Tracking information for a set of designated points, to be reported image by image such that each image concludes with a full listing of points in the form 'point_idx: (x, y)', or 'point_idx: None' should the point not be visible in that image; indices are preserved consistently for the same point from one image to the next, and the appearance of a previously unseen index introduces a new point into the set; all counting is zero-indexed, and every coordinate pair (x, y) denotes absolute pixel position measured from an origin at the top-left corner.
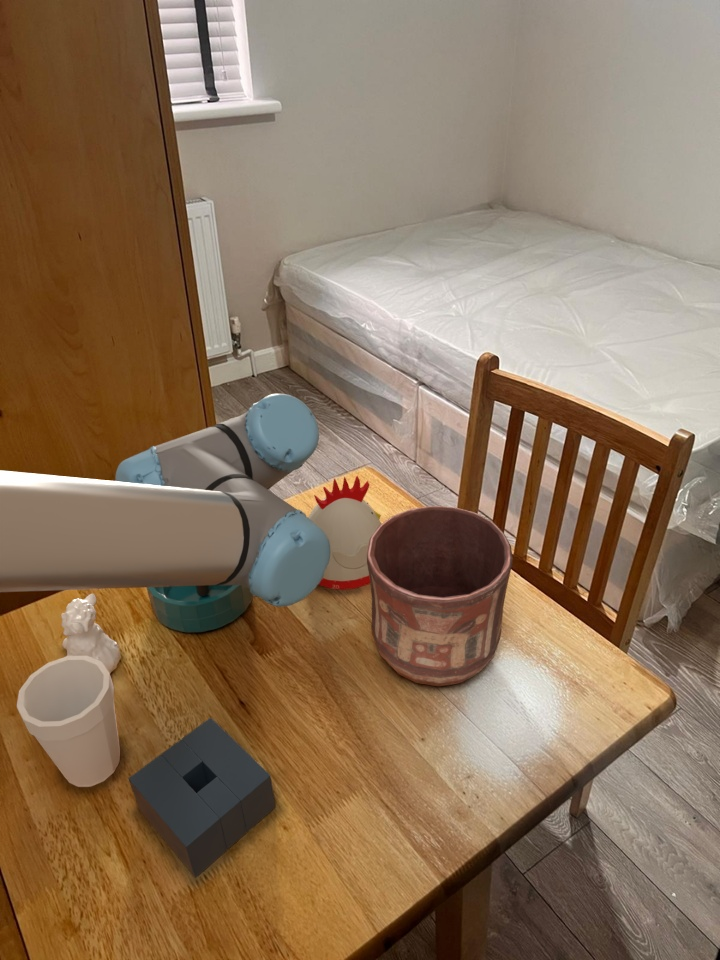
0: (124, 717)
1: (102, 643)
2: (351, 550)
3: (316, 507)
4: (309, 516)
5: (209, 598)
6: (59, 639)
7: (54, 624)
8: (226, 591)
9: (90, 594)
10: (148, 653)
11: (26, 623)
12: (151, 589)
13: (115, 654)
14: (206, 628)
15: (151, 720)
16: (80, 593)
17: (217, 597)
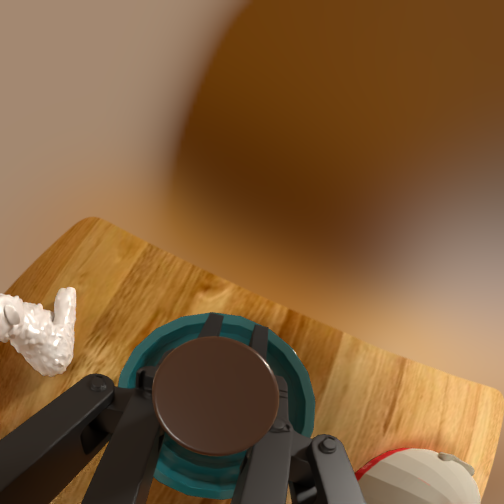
0: (20, 419)
1: (31, 355)
2: None
3: (439, 495)
4: (422, 486)
5: (160, 472)
6: (78, 276)
7: (95, 254)
8: (191, 488)
9: (13, 309)
10: None
11: (90, 228)
12: (129, 364)
13: (48, 371)
14: None
15: None
16: (148, 244)
17: (169, 483)
